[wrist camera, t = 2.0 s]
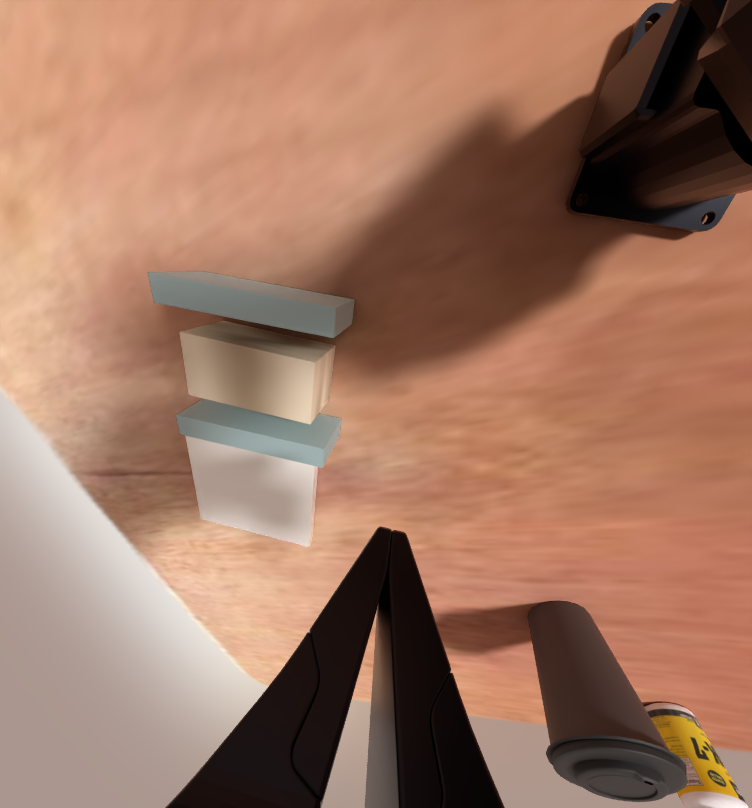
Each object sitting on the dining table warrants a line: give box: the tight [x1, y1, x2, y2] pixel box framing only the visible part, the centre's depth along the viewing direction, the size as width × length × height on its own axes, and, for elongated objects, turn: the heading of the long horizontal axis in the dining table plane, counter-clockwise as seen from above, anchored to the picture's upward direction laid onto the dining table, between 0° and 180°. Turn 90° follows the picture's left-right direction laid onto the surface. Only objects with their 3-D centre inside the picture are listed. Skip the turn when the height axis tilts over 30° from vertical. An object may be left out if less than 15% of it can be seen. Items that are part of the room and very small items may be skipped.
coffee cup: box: [528, 601, 688, 802], centre depth 22 cm, size 8×8×10 cm
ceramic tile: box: [186, 436, 318, 547], centre depth 25 cm, size 11×11×1 cm
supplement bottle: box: [644, 703, 748, 808], centre depth 27 cm, size 5×5×8 cm
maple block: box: [179, 321, 336, 424], centre depth 18 cm, size 8×4×4 cm, turn 80°
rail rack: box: [148, 271, 355, 468], centre depth 18 cm, size 10×10×4 cm
